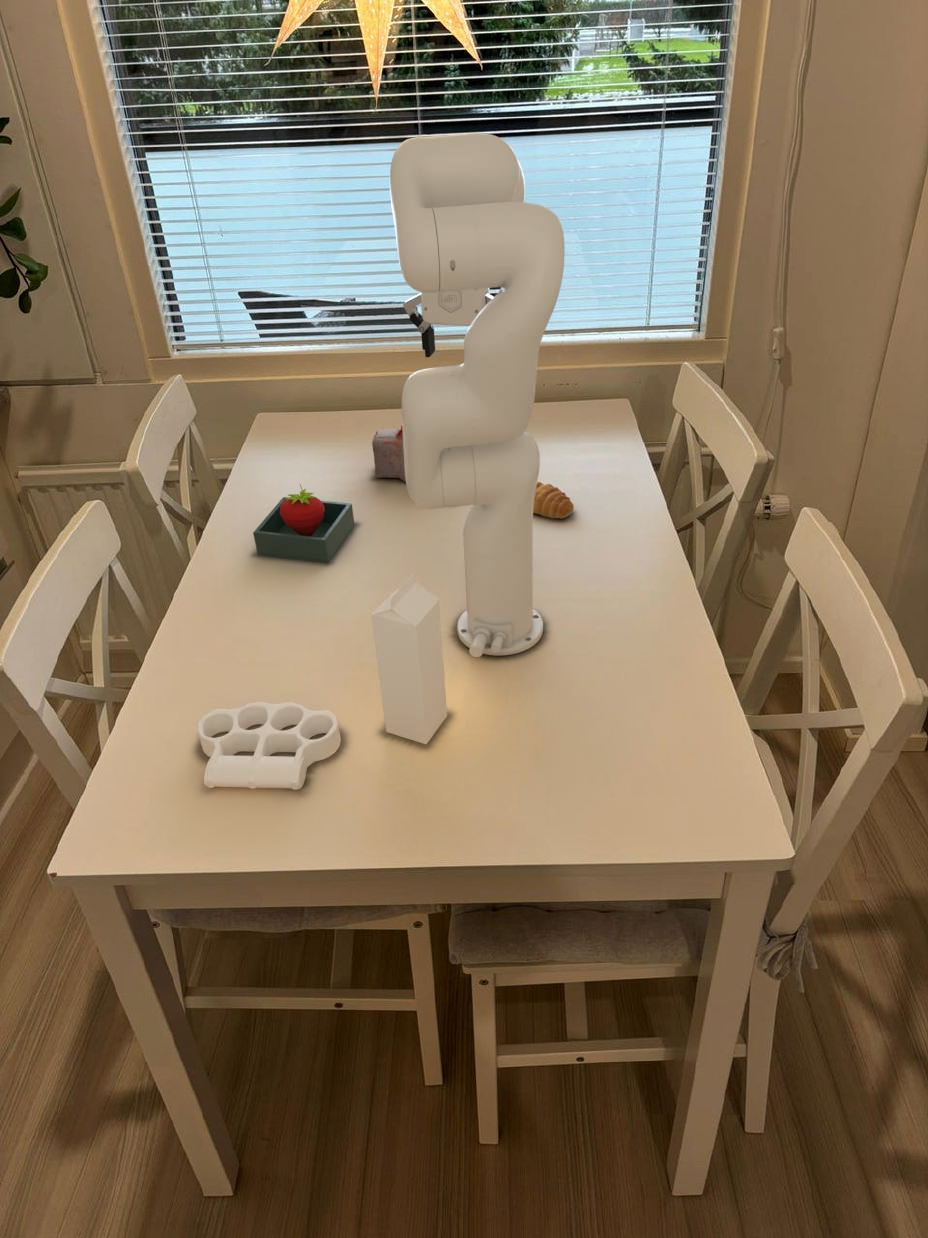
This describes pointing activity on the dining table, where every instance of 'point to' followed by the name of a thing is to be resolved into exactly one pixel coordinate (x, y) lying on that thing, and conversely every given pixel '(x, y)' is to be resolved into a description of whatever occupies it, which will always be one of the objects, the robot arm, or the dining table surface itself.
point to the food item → (389, 454)
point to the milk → (411, 662)
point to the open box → (319, 547)
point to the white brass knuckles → (265, 744)
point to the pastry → (551, 502)
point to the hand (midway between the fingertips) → (458, 356)
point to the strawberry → (302, 513)
